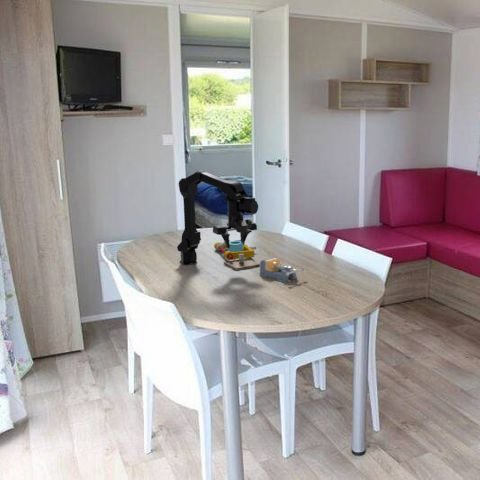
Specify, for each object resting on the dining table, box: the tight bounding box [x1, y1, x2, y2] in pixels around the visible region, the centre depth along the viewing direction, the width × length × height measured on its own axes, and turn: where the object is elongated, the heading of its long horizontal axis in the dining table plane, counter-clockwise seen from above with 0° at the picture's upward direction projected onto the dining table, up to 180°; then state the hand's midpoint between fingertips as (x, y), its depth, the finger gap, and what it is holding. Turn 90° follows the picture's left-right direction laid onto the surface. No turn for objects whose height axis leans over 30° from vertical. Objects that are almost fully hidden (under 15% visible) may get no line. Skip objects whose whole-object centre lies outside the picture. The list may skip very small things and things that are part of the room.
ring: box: [227, 240, 244, 252], centre depth 231 cm, size 6×6×3 cm
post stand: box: [223, 254, 260, 271], centre depth 242 cm, size 12×12×5 cm
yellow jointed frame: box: [213, 239, 257, 261], centre depth 259 cm, size 18×6×30 cm
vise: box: [259, 256, 305, 283], centre depth 224 cm, size 18×10×7 cm, turn 42°
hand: (235, 247), depth 231 cm, fingers closed on ring, 6 cm apart
